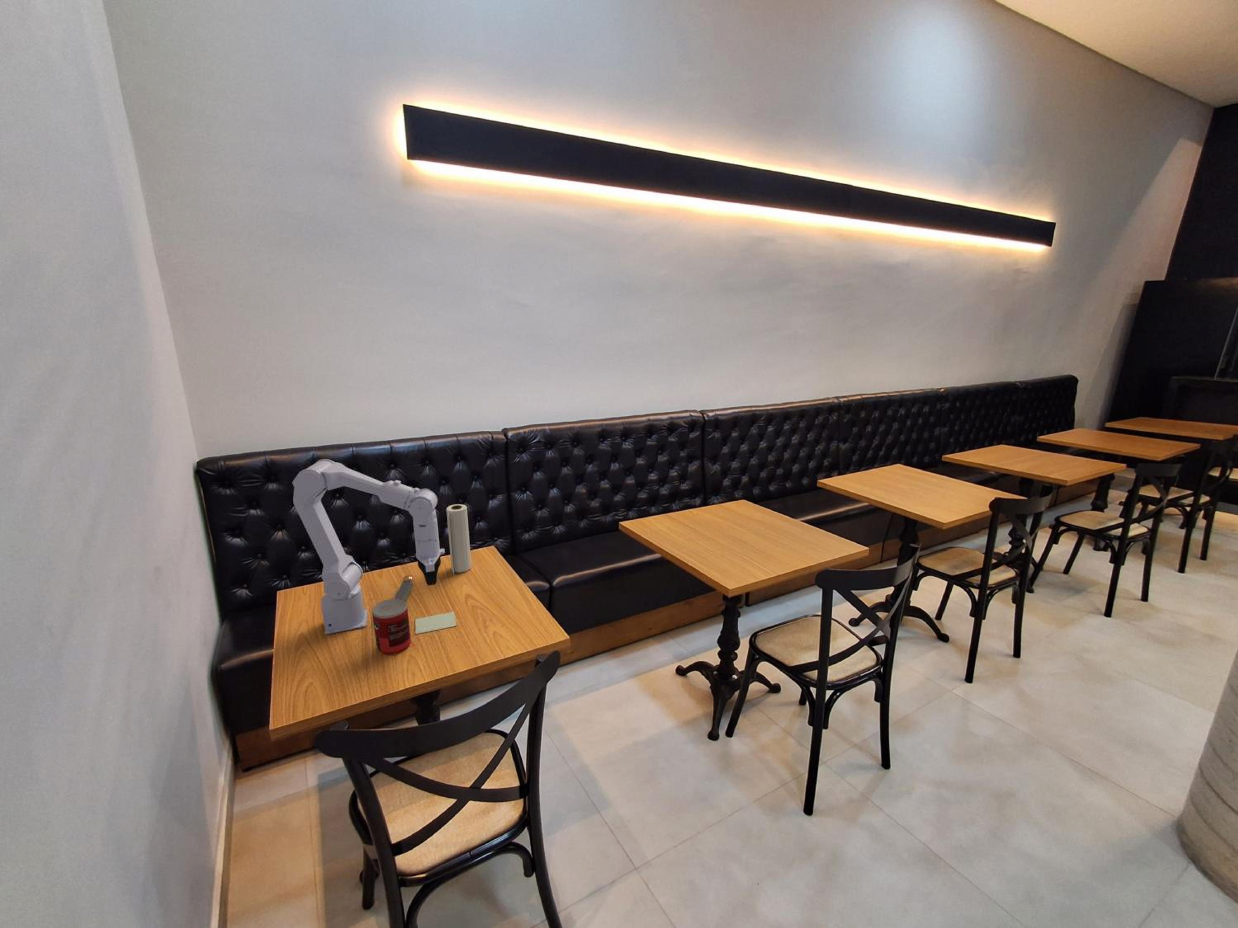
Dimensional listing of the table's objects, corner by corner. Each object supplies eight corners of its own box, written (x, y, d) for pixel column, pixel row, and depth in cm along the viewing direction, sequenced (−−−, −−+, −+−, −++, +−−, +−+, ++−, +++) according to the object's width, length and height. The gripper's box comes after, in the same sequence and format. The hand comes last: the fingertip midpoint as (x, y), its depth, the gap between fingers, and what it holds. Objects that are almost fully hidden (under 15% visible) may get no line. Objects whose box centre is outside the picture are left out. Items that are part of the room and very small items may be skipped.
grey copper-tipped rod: (398, 618, 135) (397, 607, 134) (387, 619, 134) (386, 608, 133) (415, 584, 152) (413, 573, 151) (405, 584, 152) (404, 574, 151)
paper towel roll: (466, 562, 168) (461, 502, 162) (474, 568, 164) (470, 507, 158) (445, 569, 163) (439, 507, 157) (453, 576, 159) (447, 513, 153)
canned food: (386, 635, 129) (380, 597, 126) (416, 636, 129) (412, 598, 126) (371, 655, 122) (365, 615, 119) (403, 656, 122) (398, 616, 119)
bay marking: (415, 634, 130) (415, 633, 130) (415, 619, 136) (415, 619, 136) (456, 626, 134) (456, 625, 134) (454, 612, 140) (453, 611, 140)
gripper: (445, 545, 125) (449, 594, 129) (441, 524, 138) (445, 568, 142) (414, 550, 123) (420, 599, 127) (413, 527, 136) (418, 573, 139)
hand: (431, 583), depth 134 cm, fingers closed
